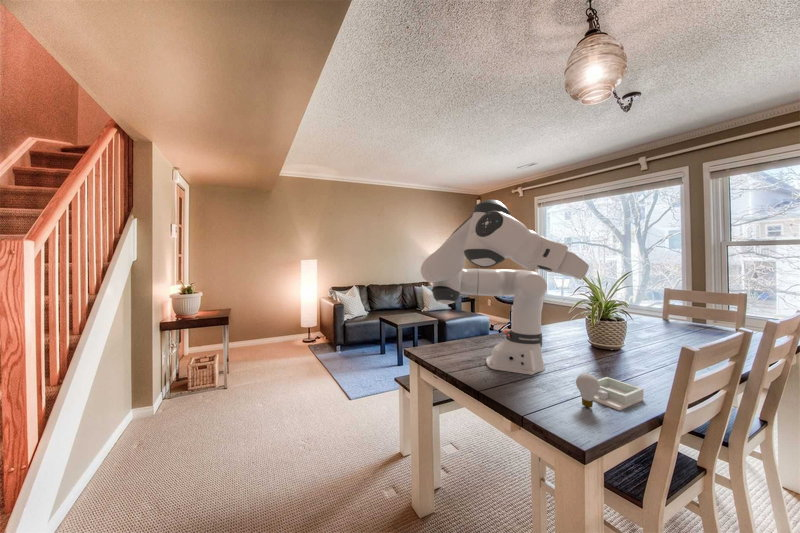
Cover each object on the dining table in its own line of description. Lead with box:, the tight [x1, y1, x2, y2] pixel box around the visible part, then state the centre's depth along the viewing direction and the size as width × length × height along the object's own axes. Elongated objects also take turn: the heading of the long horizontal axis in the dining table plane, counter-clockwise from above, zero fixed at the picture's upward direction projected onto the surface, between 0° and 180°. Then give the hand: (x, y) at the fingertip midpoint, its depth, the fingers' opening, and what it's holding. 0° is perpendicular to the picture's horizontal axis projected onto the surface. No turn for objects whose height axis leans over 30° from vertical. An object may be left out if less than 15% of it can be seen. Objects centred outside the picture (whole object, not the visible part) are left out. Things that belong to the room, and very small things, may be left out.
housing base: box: [593, 376, 645, 411], centre depth 94 cm, size 14×11×4 cm
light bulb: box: [575, 372, 600, 409], centre depth 88 cm, size 6×6×10 cm
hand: (564, 272), depth 81 cm, fingers open, 8 cm apart
